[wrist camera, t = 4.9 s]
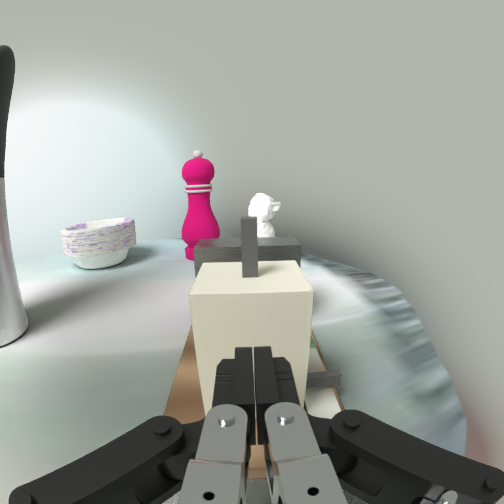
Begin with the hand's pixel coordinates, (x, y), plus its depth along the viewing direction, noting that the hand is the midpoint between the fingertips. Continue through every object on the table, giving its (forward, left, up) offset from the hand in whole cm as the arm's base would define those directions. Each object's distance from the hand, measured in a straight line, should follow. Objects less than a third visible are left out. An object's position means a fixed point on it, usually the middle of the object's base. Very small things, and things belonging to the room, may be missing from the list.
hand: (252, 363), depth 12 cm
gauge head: (-2, +4, -6) cm, 7 cm away
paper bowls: (-49, +6, -7) cm, 50 cm away
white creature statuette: (-26, +26, -7) cm, 38 cm away
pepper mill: (-38, +23, -7) cm, 46 cm away
